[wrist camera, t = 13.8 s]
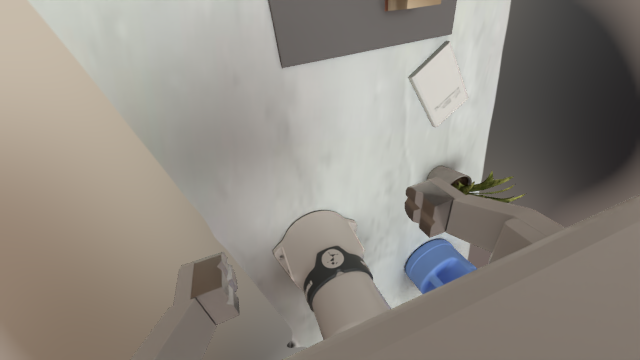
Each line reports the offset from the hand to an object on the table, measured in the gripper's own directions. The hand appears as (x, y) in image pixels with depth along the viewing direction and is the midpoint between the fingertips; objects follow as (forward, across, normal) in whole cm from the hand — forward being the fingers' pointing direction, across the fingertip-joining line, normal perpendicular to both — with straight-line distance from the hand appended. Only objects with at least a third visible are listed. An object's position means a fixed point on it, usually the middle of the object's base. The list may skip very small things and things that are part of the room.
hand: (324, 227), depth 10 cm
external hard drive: (+30, +32, -6) cm, 45 cm away
